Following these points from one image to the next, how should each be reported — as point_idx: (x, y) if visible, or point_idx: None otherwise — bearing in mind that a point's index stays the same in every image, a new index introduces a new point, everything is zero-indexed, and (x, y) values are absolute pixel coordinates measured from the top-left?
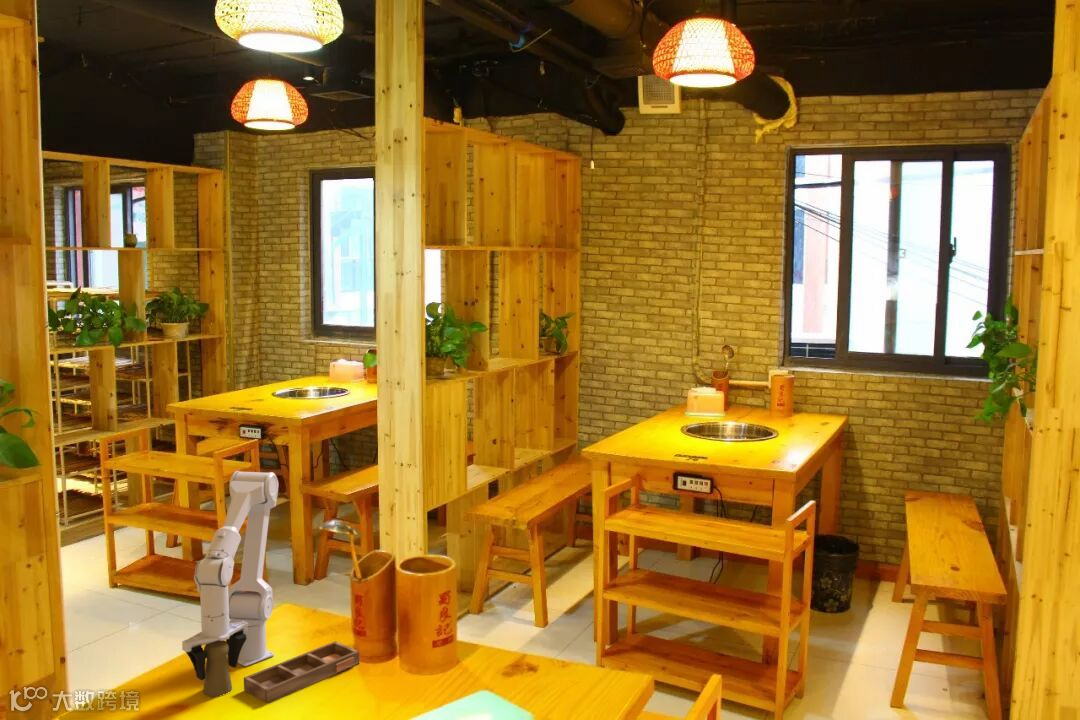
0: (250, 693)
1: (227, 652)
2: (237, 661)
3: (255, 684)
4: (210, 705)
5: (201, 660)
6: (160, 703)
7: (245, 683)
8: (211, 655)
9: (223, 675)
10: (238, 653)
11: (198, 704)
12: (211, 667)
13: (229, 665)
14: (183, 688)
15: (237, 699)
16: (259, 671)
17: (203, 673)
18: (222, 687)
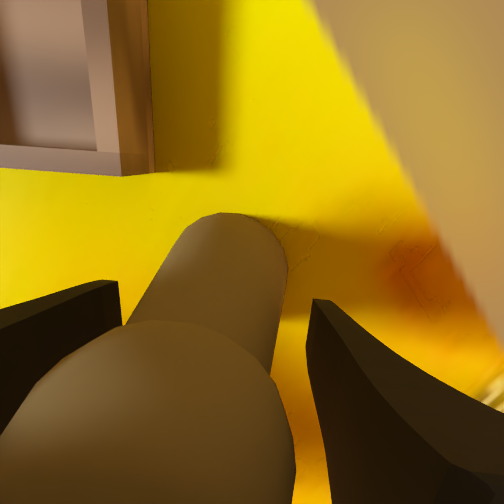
0: (150, 113)
1: (89, 342)
2: (70, 288)
3: (111, 26)
4: (335, 178)
5: (432, 394)
6: (427, 354)
7: (134, 159)
8: (273, 402)
9: (212, 251)
10: (9, 310)
11: (357, 231)
12: (266, 326)
13: (121, 323)
14: (298, 379)
15: (223, 122)
16: (16, 167)
17: (337, 314)
18: (236, 226)
